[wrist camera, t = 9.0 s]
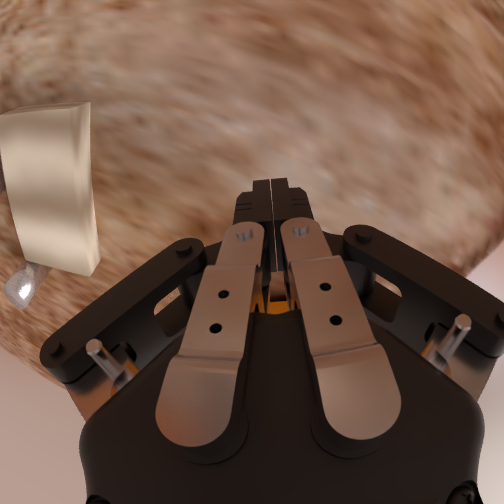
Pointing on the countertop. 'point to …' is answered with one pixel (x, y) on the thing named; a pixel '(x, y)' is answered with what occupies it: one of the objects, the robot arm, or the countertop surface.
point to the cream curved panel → (51, 184)
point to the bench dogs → (23, 273)
